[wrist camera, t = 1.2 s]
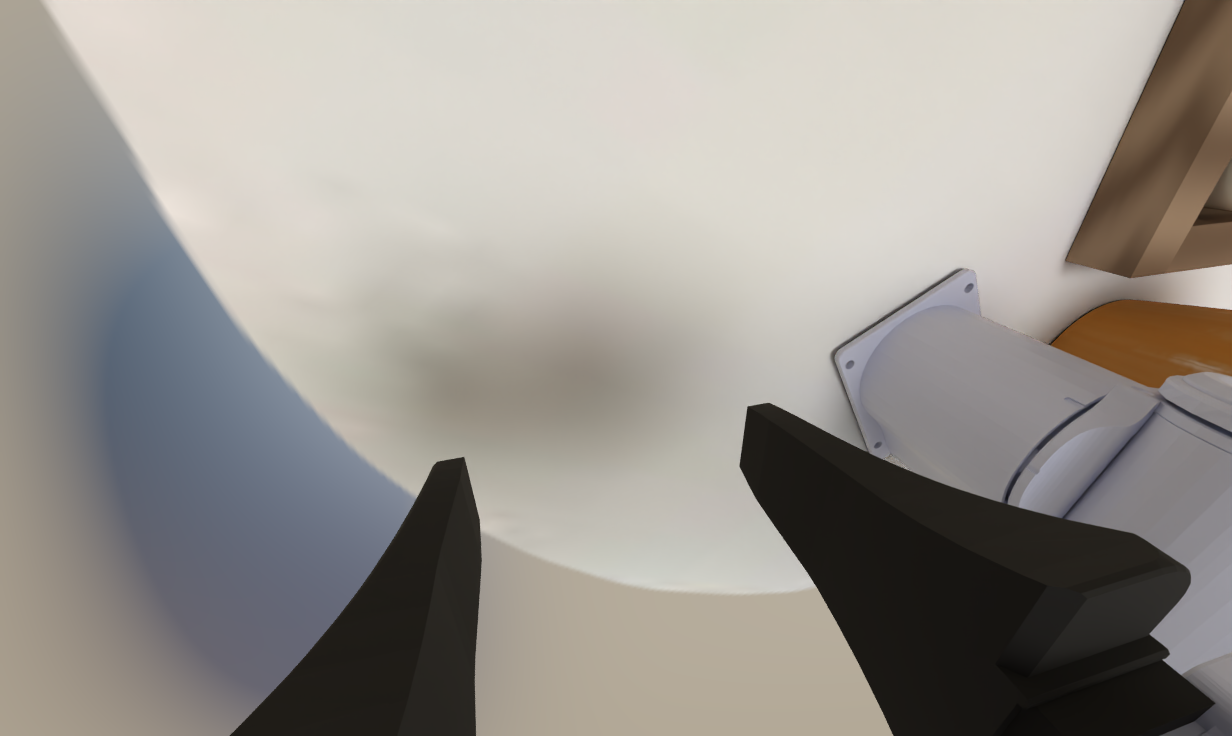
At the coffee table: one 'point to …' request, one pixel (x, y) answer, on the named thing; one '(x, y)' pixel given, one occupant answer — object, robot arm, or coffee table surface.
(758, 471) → the robot arm
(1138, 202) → the wooden compartment tray
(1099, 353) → the flower pot
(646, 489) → the coffee table surface
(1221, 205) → the cream button
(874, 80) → the coffee table surface
